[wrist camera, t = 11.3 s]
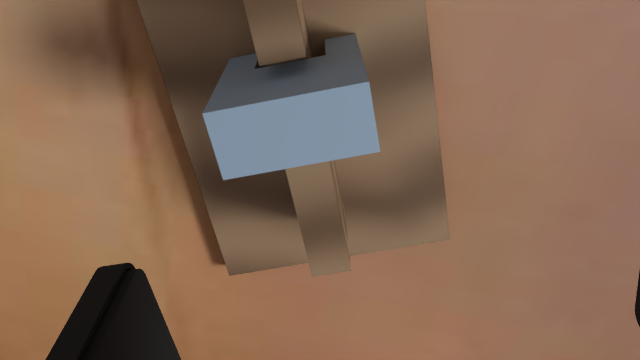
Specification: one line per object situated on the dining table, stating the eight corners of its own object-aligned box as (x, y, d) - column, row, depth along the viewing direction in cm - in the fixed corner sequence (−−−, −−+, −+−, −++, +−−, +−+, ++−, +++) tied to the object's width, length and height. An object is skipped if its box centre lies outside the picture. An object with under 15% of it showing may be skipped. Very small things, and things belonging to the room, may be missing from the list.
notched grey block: (244, 111, 30) (223, 180, 23) (230, 58, 29) (202, 113, 22) (364, 89, 30) (380, 151, 22) (355, 33, 28) (369, 81, 21)
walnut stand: (91, -156, 25) (25, -170, 19) (397, -228, 24) (423, -266, 18) (231, 266, 36) (215, 337, 30) (446, 230, 35) (472, 297, 29)
